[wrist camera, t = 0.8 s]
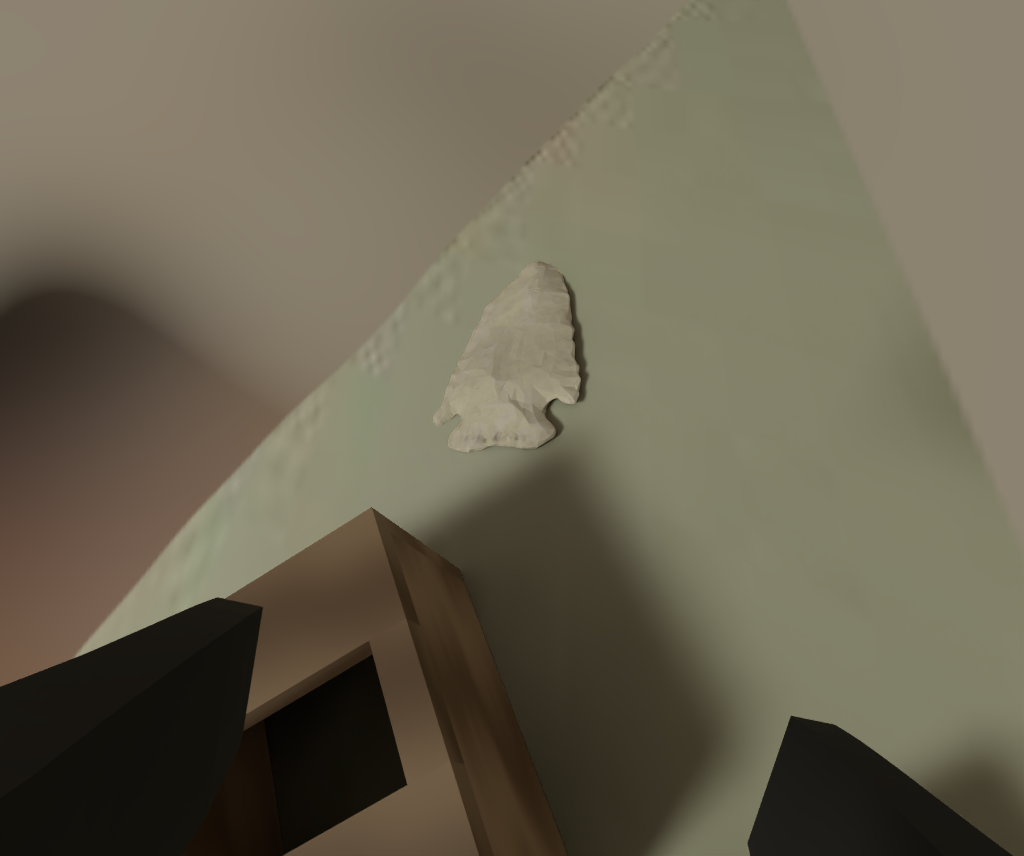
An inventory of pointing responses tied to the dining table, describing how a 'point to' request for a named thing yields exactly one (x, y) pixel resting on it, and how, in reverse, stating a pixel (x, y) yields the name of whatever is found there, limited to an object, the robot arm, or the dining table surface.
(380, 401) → the dining table surface
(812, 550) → the dining table surface
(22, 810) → the robot arm
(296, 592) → the box
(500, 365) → the arrowhead
